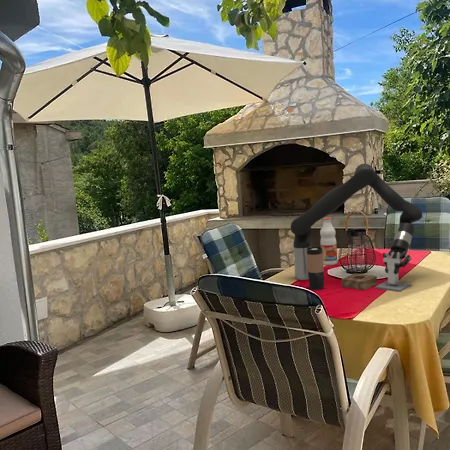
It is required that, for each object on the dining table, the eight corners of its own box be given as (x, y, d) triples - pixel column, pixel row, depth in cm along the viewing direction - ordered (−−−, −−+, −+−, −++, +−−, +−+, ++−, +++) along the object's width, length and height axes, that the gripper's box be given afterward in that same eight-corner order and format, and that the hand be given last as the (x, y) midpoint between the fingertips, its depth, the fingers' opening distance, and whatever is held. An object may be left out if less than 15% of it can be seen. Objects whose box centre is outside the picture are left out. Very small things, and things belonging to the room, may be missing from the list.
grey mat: (375, 288, 208) (375, 286, 208) (387, 282, 216) (387, 280, 216) (400, 291, 199) (400, 290, 199) (411, 285, 208) (411, 283, 207)
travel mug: (325, 285, 220) (322, 246, 217) (324, 290, 213) (321, 249, 210) (309, 285, 222) (307, 247, 219) (308, 290, 215) (305, 250, 212)
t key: (383, 283, 210) (382, 258, 208) (387, 281, 212) (385, 256, 210) (399, 285, 204) (398, 260, 202) (403, 283, 206) (402, 258, 204)
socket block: (342, 286, 215) (341, 278, 215) (354, 280, 223) (354, 273, 223) (364, 290, 207) (364, 281, 206) (377, 284, 215) (376, 276, 214)
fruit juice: (329, 261, 272) (327, 216, 269) (341, 263, 264) (338, 217, 261) (318, 263, 267) (315, 218, 264) (329, 266, 259) (326, 219, 256)
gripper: (384, 237, 215) (373, 267, 209) (413, 239, 205) (402, 270, 198) (390, 246, 220) (379, 275, 213) (418, 248, 209) (408, 279, 203)
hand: (390, 272), depth 206 cm, fingers closed on t key, 3 cm apart
